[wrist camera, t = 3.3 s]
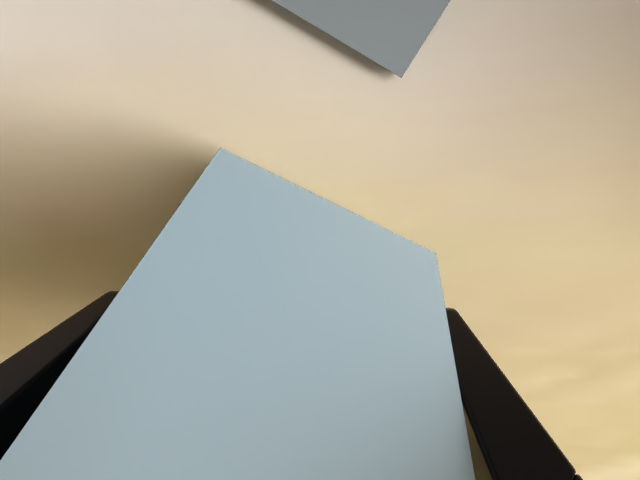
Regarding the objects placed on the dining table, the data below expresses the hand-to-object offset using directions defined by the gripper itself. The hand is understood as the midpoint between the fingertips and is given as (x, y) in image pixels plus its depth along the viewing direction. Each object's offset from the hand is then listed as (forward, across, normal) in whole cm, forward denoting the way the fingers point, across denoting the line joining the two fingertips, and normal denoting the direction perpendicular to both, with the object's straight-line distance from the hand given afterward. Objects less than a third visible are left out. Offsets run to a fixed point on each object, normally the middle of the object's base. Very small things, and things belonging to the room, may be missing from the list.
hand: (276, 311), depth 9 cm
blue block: (+1, 0, 0) cm, 1 cm away
